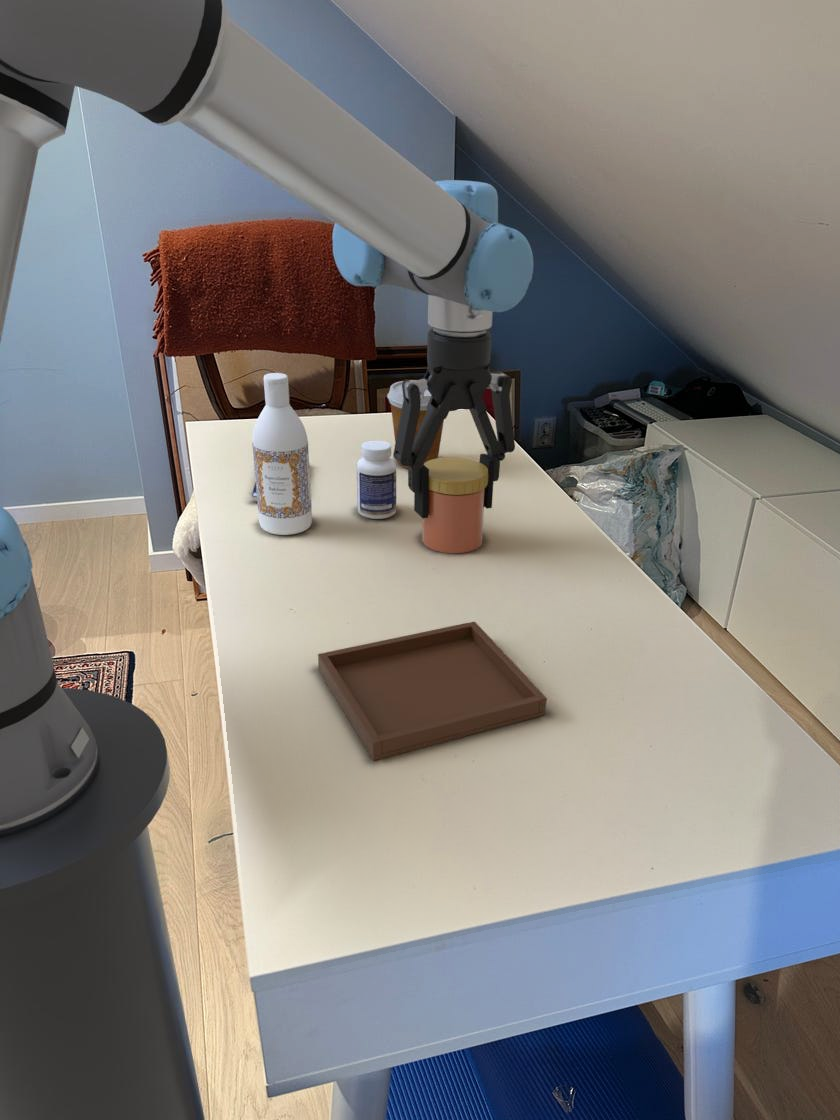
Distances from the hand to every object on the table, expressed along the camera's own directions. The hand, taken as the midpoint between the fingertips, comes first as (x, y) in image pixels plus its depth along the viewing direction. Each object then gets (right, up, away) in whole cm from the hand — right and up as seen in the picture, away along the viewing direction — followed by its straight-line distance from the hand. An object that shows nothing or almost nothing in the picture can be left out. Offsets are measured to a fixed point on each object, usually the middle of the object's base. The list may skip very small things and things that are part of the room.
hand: (453, 509), depth 116 cm
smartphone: (-26, +6, +16) cm, 31 cm away
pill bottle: (-11, +1, +9) cm, 14 cm away
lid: (0, +4, -3) cm, 5 cm away
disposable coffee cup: (-6, +11, +26) cm, 29 cm away
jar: (0, -4, +2) cm, 4 cm away
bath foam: (-23, -2, +4) cm, 23 cm away
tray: (-2, -22, -28) cm, 36 cm away
